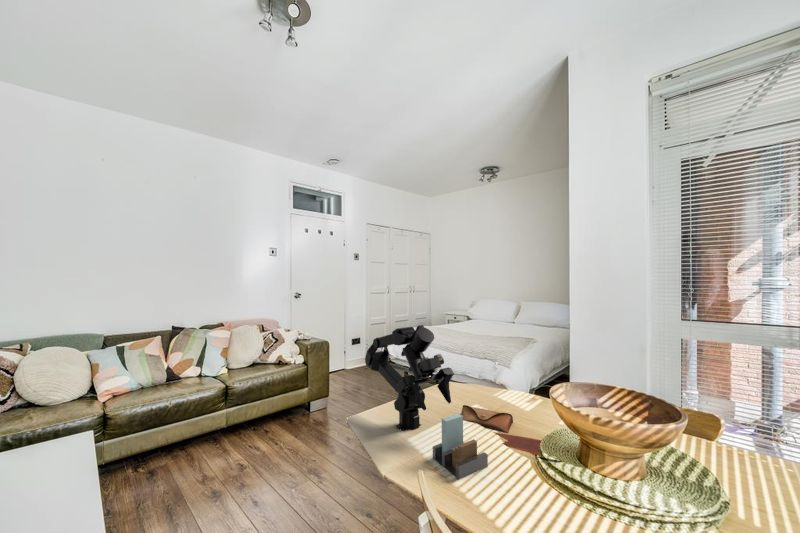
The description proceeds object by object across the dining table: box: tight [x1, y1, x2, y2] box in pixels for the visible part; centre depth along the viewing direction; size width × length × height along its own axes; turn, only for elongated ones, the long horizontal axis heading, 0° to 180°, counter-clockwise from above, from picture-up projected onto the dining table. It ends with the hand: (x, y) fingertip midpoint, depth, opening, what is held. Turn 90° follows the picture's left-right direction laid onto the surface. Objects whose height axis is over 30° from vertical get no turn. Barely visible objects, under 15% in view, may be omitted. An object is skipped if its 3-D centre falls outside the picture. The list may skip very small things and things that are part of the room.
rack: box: [432, 442, 489, 480], centre depth 87 cm, size 11×10×4 cm
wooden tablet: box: [492, 431, 542, 457], centre depth 97 cm, size 27×10×2 cm, turn 65°
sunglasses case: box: [460, 404, 514, 434], centre depth 112 cm, size 18×7×7 cm
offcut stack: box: [452, 439, 478, 469], centre depth 85 cm, size 4×6×6 cm, turn 121°
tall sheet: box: [441, 413, 464, 453], centre depth 89 cm, size 2×6×11 cm, turn 121°
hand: (437, 406), depth 95 cm, fingers open, 9 cm apart
